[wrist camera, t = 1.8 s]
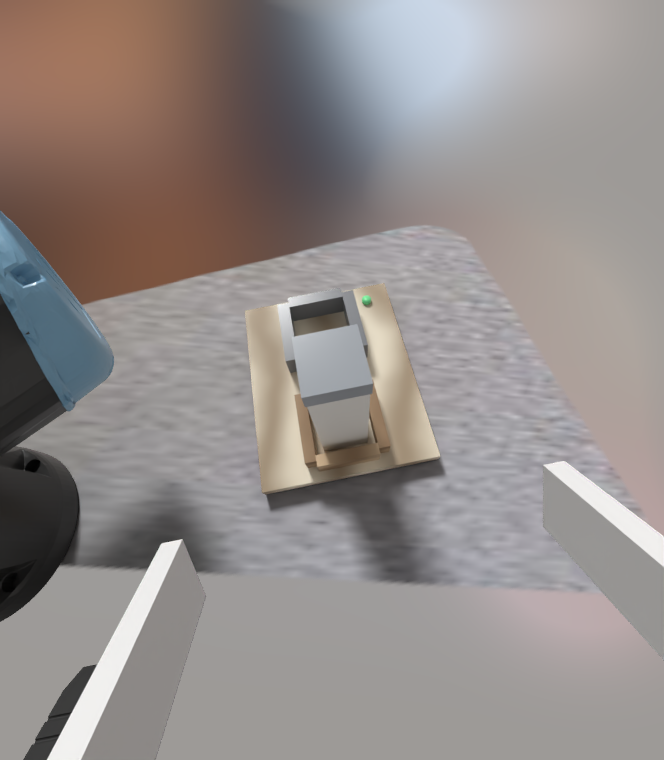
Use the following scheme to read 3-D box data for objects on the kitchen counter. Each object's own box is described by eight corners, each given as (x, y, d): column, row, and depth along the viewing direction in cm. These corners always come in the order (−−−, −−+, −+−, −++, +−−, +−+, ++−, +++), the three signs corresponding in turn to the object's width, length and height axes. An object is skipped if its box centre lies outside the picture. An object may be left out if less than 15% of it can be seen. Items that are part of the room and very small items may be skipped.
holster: (308, 473, 31) (305, 469, 29) (297, 398, 34) (293, 390, 32) (390, 457, 31) (392, 451, 29) (371, 383, 34) (371, 374, 32)
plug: (323, 452, 32) (301, 398, 20) (315, 410, 34) (291, 337, 22) (368, 443, 32) (373, 383, 20) (358, 401, 34) (357, 324, 22)
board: (265, 494, 32) (262, 492, 31) (248, 317, 40) (245, 310, 39) (437, 459, 32) (440, 456, 31) (383, 290, 41) (384, 283, 39)
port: (291, 378, 35) (286, 366, 33) (281, 314, 39) (276, 300, 36) (388, 358, 35) (390, 345, 33) (369, 297, 39) (370, 281, 37)
